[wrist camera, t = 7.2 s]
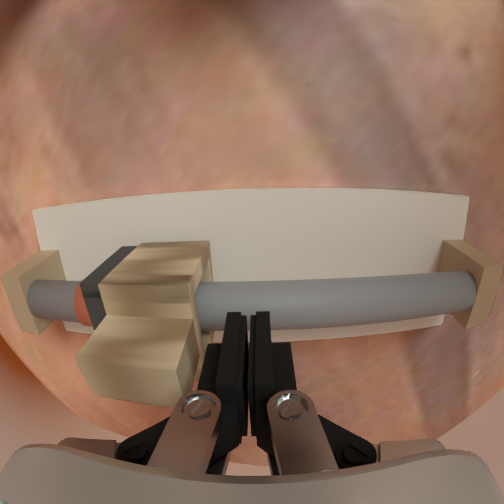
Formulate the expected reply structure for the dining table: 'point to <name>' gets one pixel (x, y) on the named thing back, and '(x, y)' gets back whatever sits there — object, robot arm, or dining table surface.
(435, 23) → the dining table surface
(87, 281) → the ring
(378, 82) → the dining table surface
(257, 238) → the pipe rail
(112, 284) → the sleeve
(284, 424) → the robot arm
